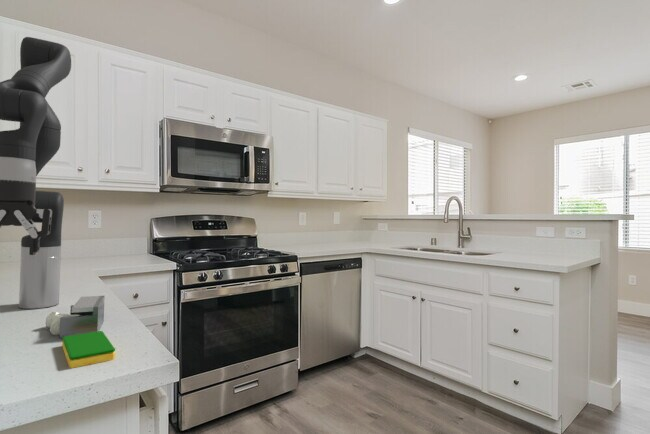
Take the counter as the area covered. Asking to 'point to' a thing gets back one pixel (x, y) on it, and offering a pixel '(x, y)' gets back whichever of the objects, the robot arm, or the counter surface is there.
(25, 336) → the counter surface
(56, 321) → the pipe fitting
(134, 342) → the counter surface
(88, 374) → the counter surface
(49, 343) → the counter surface
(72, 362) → the dish sponge
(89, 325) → the bracket
